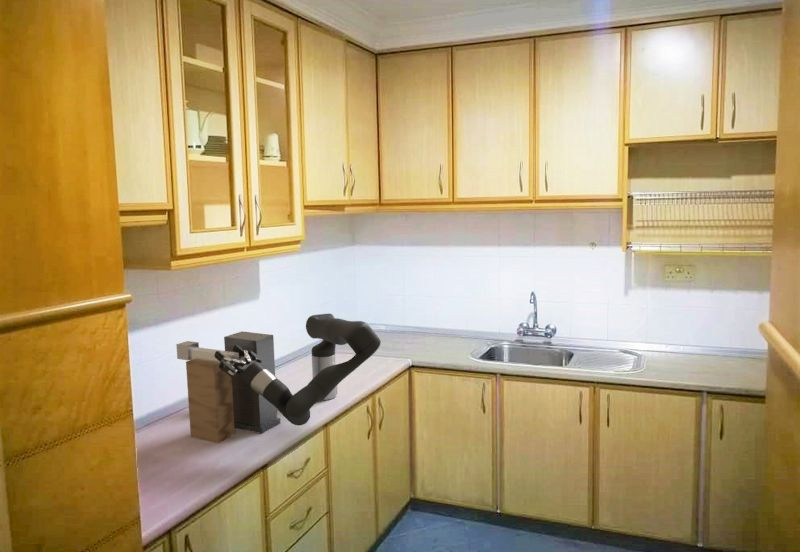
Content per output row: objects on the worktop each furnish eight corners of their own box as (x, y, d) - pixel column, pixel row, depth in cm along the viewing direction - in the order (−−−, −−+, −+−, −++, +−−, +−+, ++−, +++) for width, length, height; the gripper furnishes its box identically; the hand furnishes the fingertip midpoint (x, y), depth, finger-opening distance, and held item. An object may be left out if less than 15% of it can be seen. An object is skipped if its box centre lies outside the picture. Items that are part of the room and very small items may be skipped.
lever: (188, 355, 215) (187, 341, 215) (240, 362, 205) (239, 347, 204) (177, 358, 211) (176, 344, 210) (230, 366, 201) (229, 351, 200)
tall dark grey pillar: (245, 416, 229) (240, 330, 224) (280, 423, 222) (276, 334, 217) (225, 426, 220) (220, 336, 216) (262, 433, 213) (257, 341, 208)
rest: (208, 428, 218) (203, 355, 214) (234, 434, 212) (230, 359, 209) (190, 436, 211) (185, 361, 207) (217, 442, 205) (213, 365, 202)
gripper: (278, 364, 204) (243, 336, 209) (249, 376, 191) (213, 345, 196) (270, 382, 206) (236, 353, 211) (241, 395, 194) (205, 364, 199)
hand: (225, 349), depth 204 cm, fingers open, 8 cm apart
